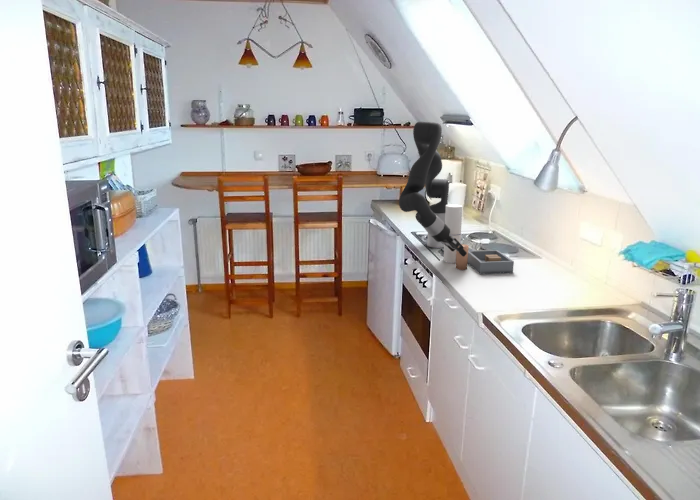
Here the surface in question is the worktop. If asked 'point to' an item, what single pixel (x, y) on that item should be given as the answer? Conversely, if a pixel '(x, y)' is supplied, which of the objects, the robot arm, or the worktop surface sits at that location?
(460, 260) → the terracotta capsule
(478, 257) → the grey tote
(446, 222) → the cylindrical container
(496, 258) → the walnut cube
